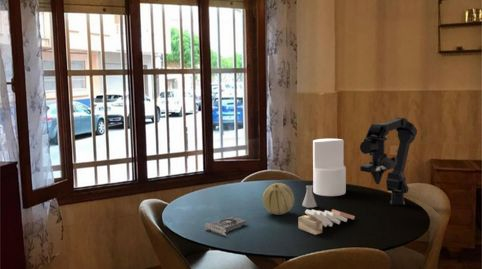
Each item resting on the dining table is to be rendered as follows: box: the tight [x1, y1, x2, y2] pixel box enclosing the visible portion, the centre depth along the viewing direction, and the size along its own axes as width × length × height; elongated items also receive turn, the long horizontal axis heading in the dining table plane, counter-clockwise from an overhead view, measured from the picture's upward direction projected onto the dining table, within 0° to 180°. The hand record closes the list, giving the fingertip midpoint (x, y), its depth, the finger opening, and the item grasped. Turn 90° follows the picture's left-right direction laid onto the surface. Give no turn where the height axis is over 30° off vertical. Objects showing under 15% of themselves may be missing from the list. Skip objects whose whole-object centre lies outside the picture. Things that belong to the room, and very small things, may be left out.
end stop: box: [297, 214, 323, 236], centre depth 201 cm, size 4×10×5 cm, turn 36°
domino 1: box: [304, 208, 328, 228], centre depth 203 cm, size 2×5×10 cm
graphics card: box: [204, 216, 247, 237], centre depth 207 cm, size 17×4×12 cm
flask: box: [301, 185, 318, 209], centre depth 236 cm, size 7×7×10 cm
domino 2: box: [311, 208, 334, 228], centre depth 205 cm, size 2×5×10 cm
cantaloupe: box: [262, 182, 295, 216], centre depth 224 cm, size 15×15×15 cm
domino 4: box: [323, 210, 348, 223], centre depth 210 cm, size 2×5×10 cm
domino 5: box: [331, 208, 356, 220], centre depth 213 cm, size 2×5×10 cm
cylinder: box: [312, 138, 347, 197], centre depth 259 cm, size 17×17×28 cm
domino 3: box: [317, 210, 341, 225], centre depth 207 cm, size 2×5×10 cm
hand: (377, 184), depth 223 cm, fingers closed
